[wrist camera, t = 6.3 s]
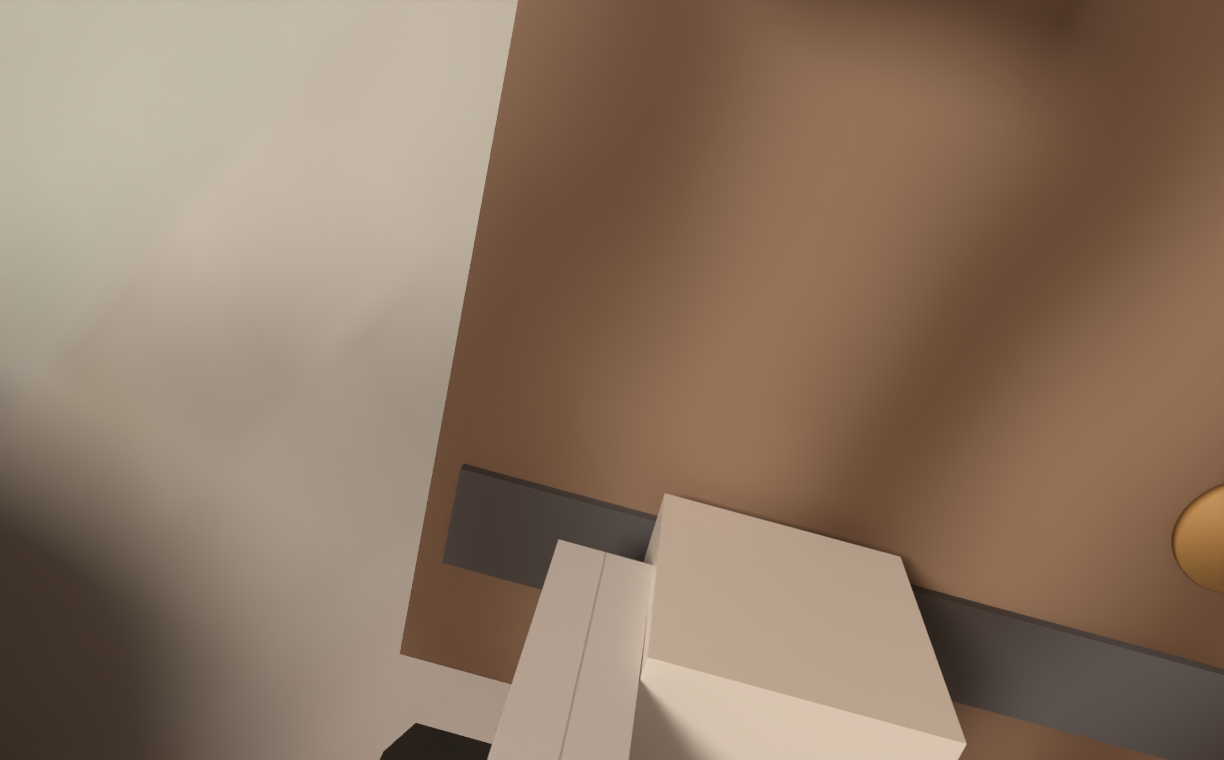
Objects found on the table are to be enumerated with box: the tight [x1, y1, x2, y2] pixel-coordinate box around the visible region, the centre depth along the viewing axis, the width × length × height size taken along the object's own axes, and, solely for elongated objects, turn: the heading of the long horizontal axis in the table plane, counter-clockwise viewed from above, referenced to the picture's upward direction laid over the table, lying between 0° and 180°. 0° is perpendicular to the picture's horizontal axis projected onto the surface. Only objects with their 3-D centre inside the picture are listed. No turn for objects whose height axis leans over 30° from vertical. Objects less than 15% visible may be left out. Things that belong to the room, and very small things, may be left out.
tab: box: [629, 493, 967, 760], centre depth 13 cm, size 4×4×4 cm
